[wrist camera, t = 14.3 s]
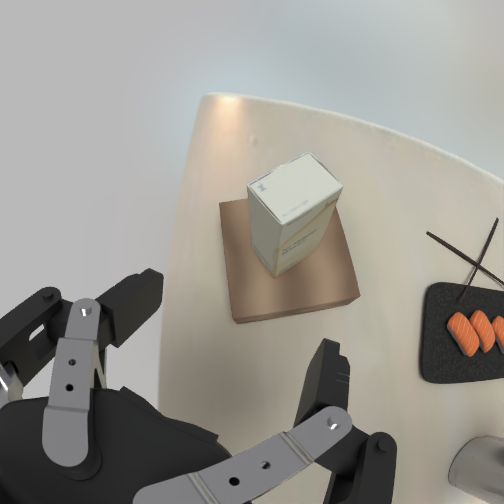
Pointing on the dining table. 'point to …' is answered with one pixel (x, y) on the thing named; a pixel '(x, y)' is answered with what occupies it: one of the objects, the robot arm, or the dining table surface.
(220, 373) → the dining table surface
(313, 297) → the block
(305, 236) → the skincare box
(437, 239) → the sushi plate
